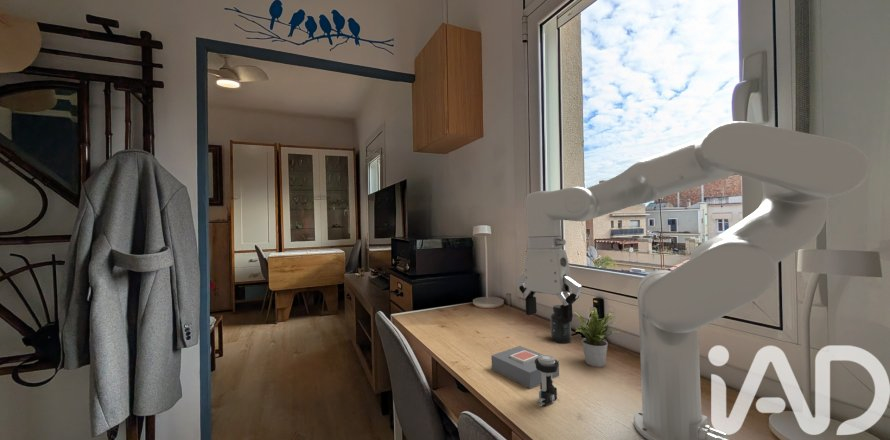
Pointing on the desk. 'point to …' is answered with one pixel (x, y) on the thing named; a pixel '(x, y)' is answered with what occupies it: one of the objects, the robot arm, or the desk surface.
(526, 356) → the breaker button
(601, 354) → the house plant
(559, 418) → the desk surface
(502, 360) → the grey button box
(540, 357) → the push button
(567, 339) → the supplement bottle
